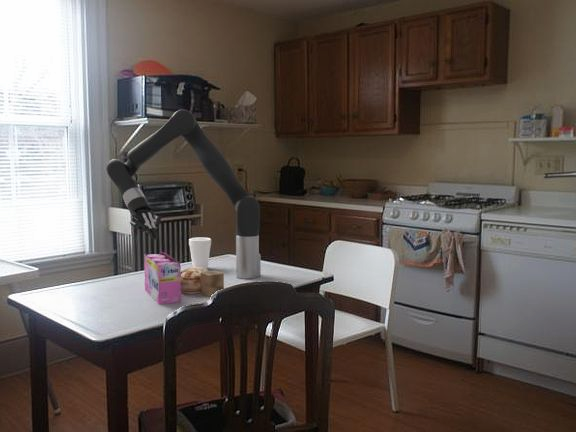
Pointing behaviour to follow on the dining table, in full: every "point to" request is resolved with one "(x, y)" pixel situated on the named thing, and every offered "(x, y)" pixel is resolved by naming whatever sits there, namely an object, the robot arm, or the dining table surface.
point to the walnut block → (211, 282)
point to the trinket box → (191, 280)
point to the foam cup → (200, 251)
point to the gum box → (163, 278)
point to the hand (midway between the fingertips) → (156, 238)
